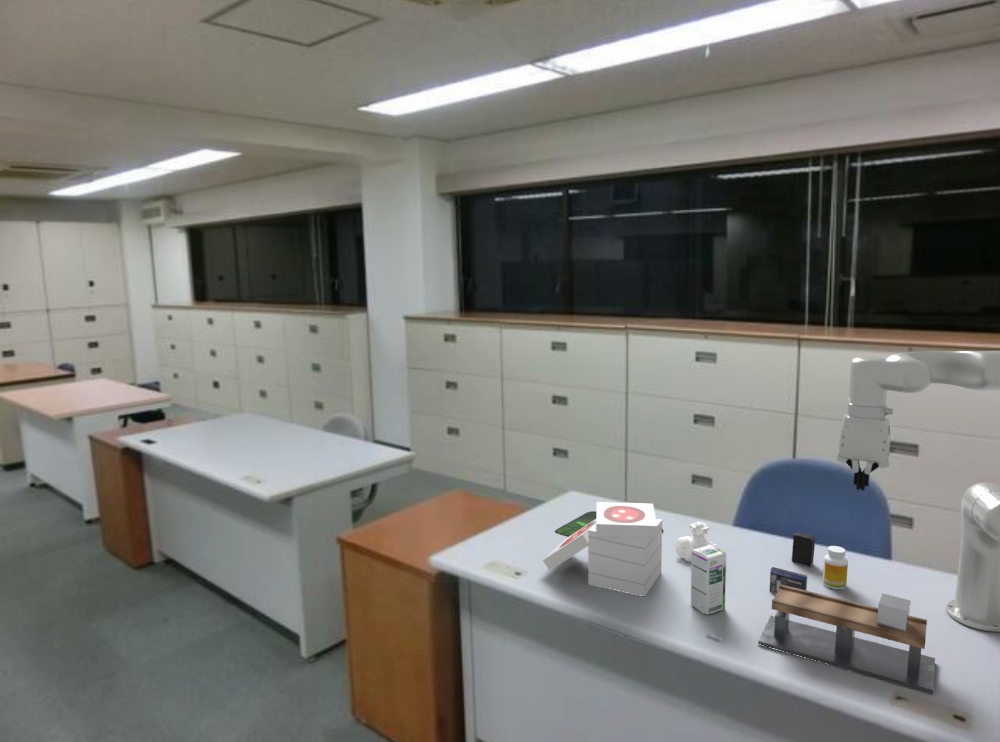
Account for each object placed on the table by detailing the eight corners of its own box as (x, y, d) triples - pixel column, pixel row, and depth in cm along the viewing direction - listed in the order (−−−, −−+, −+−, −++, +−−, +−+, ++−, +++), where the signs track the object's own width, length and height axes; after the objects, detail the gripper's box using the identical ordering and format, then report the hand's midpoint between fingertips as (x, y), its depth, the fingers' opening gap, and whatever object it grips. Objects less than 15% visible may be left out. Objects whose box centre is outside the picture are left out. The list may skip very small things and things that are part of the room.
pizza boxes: (567, 549, 196) (567, 489, 193) (671, 570, 182) (672, 506, 178) (538, 577, 180) (537, 513, 176) (650, 603, 165) (651, 533, 162)
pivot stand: (934, 662, 139) (937, 627, 138) (932, 694, 130) (936, 657, 128) (770, 619, 157) (772, 588, 156) (758, 644, 147) (759, 611, 146)
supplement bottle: (849, 591, 169) (851, 554, 167) (825, 589, 170) (828, 553, 168) (842, 580, 174) (845, 545, 172) (820, 579, 175) (822, 543, 173)
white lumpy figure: (719, 571, 185) (726, 531, 189) (713, 564, 179) (721, 523, 184) (675, 561, 192) (684, 523, 196) (669, 554, 186) (678, 515, 190)
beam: (925, 630, 138) (927, 618, 138) (924, 653, 131) (925, 640, 130) (780, 594, 153) (780, 583, 153) (770, 612, 146) (771, 601, 145)
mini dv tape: (769, 591, 170) (770, 569, 169) (771, 589, 171) (772, 566, 170) (804, 601, 165) (805, 578, 164) (806, 598, 166) (807, 575, 165)
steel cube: (908, 623, 137) (910, 600, 136) (905, 634, 133) (907, 611, 132) (880, 615, 140) (882, 593, 139) (876, 626, 136) (878, 603, 135)
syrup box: (707, 616, 159) (709, 558, 156) (689, 604, 164) (691, 548, 162) (725, 609, 162) (727, 552, 159) (707, 598, 167) (709, 543, 164)
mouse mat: (551, 533, 208) (551, 530, 208) (589, 511, 225) (589, 508, 225) (630, 557, 191) (630, 553, 191) (665, 531, 208) (665, 528, 207)
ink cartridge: (813, 564, 183) (815, 536, 182) (810, 567, 182) (812, 539, 180) (794, 558, 187) (796, 531, 185) (791, 561, 185) (793, 534, 184)
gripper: (905, 411, 153) (899, 489, 156) (832, 404, 161) (827, 478, 165) (903, 418, 147) (896, 499, 150) (827, 411, 155) (822, 487, 159)
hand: (860, 488), depth 157 cm, fingers closed
